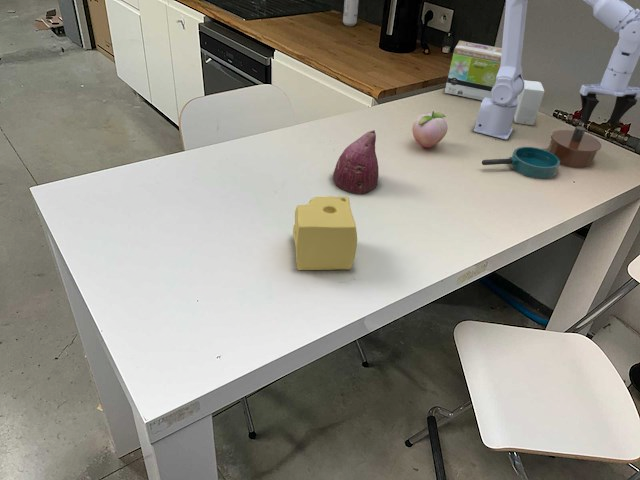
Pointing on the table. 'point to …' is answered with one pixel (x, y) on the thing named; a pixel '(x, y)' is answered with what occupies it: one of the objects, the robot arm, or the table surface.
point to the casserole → (571, 156)
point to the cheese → (325, 234)
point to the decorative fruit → (429, 129)
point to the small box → (529, 102)
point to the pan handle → (500, 161)
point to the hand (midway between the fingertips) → (598, 122)
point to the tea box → (473, 70)
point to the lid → (576, 140)
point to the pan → (535, 162)
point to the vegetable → (358, 166)
